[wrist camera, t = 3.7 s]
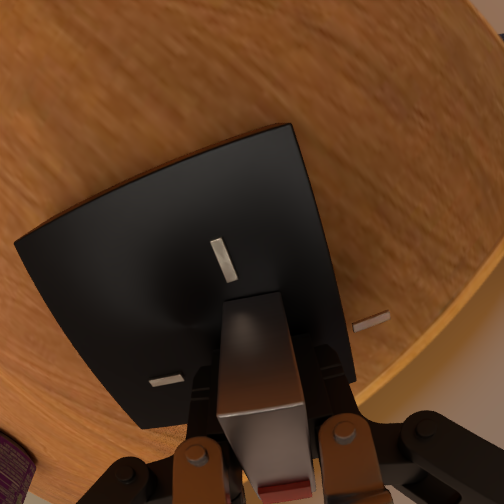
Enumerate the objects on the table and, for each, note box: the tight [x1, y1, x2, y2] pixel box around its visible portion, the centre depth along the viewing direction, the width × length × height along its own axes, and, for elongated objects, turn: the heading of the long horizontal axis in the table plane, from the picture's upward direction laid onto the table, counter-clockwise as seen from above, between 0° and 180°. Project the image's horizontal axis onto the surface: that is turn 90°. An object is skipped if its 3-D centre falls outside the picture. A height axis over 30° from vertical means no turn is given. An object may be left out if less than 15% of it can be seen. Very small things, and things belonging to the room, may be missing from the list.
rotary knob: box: [216, 292, 316, 504], centre depth 9 cm, size 5×2×5 cm, turn 11°
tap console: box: [14, 123, 390, 429], centre depth 12 cm, size 12×12×3 cm
